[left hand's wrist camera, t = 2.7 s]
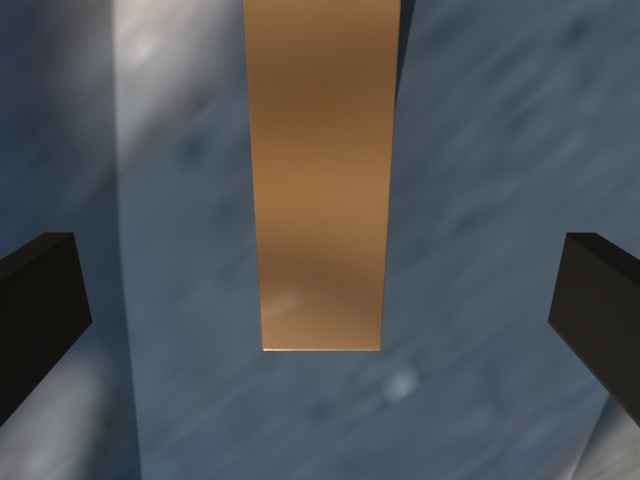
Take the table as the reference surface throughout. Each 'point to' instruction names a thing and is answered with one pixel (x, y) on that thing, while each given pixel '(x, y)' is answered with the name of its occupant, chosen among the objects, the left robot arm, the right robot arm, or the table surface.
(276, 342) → the beam
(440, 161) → the table surface
